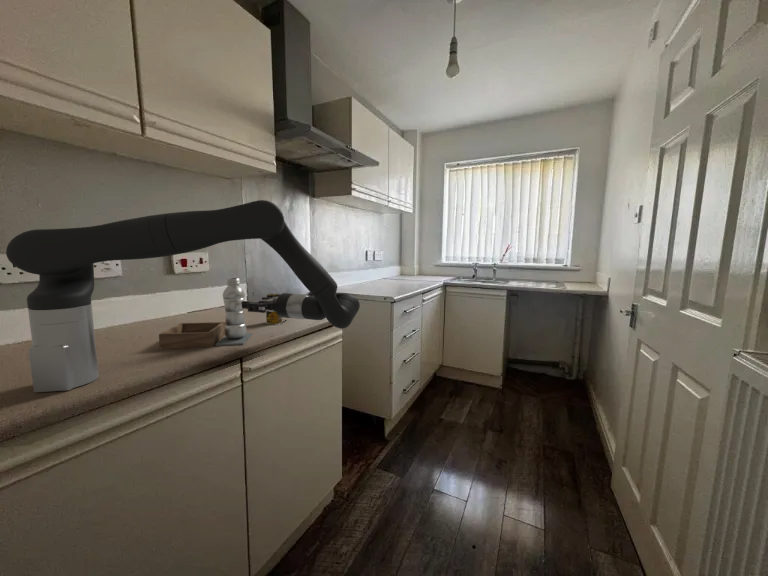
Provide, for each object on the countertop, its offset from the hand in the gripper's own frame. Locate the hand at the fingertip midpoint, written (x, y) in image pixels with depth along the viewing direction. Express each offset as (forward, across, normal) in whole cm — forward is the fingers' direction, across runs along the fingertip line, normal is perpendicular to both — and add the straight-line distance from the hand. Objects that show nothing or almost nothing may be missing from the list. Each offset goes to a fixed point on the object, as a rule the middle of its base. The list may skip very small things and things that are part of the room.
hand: (252, 302), depth 95 cm
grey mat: (+8, 0, +13) cm, 15 cm away
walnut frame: (+18, +6, +13) cm, 23 cm away
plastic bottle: (+8, 0, +13) cm, 15 cm away
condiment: (+12, -25, +14) cm, 31 cm away
